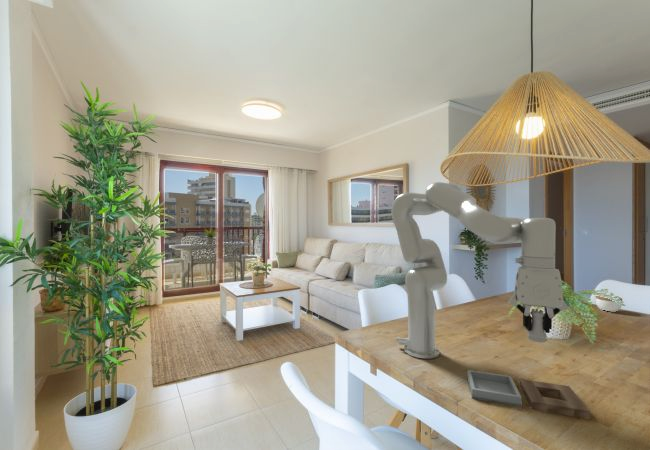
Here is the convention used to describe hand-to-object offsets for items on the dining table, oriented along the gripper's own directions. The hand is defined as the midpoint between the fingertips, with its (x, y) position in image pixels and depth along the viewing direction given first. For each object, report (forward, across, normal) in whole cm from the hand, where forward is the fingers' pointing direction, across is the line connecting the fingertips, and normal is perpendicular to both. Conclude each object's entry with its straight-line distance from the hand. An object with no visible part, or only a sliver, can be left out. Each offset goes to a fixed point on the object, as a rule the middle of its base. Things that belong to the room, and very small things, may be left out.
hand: (536, 329), depth 81 cm
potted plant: (+19, +65, +109) cm, 128 cm away
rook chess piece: (+3, 0, 0) cm, 3 cm away
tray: (+19, -11, 0) cm, 22 cm away
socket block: (+19, +3, 0) cm, 19 cm away
